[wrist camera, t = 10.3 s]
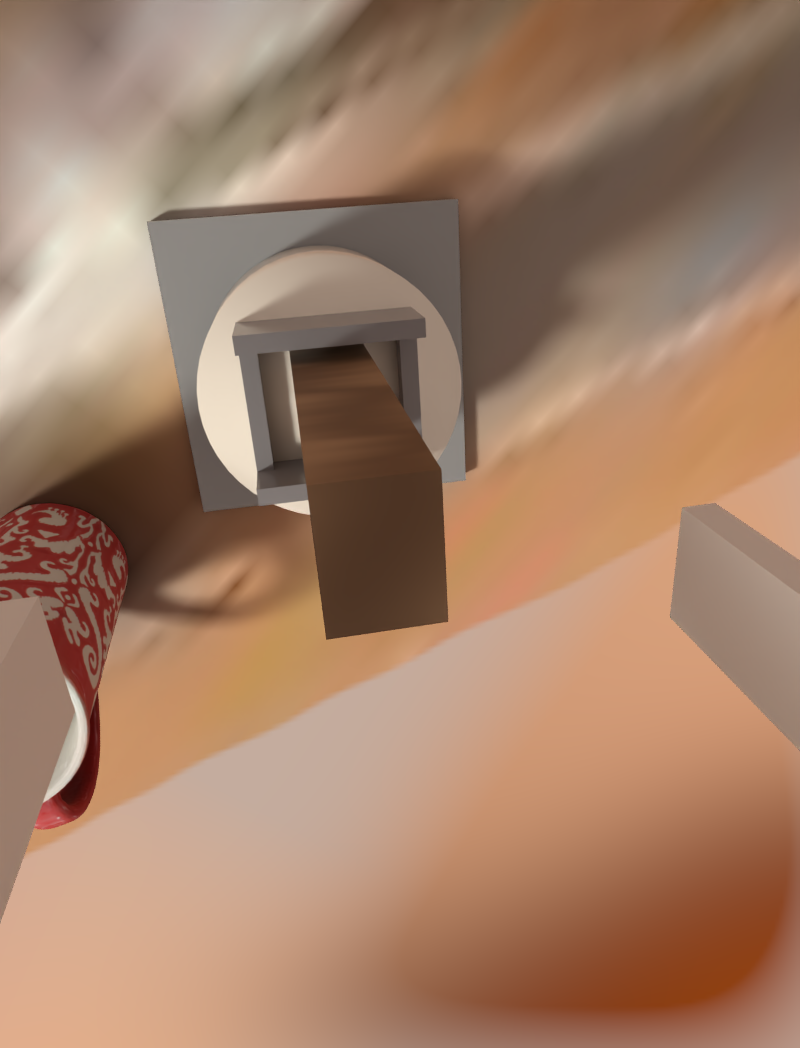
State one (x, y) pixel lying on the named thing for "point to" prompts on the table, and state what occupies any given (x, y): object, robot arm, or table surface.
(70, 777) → the mug
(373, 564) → the wood plank
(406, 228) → the square plate with disc
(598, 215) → the table surface
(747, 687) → the robot arm
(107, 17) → the table surface
